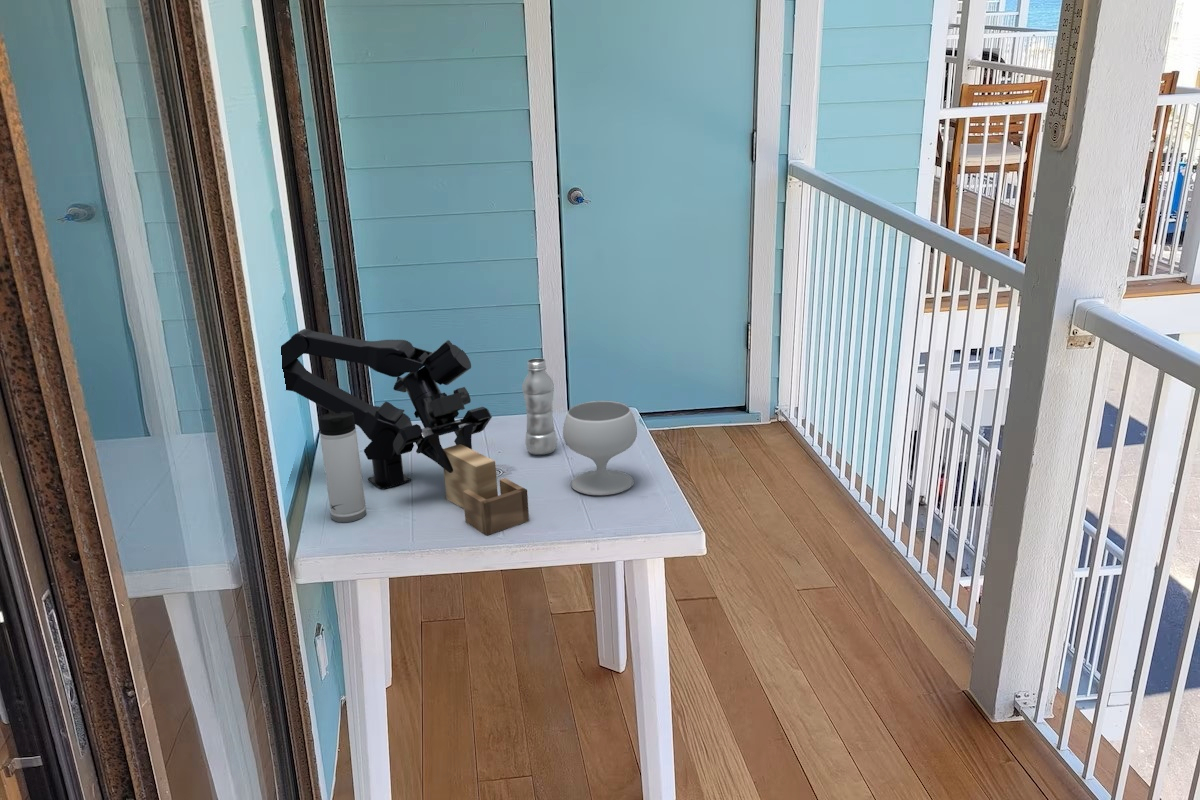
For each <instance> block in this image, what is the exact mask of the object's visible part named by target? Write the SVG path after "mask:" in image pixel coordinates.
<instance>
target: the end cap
mask: <svg viewBox="0 0 1200 800" xmlns="http://www.w3.org/2000/svg"><path fill="white" fill-rule="evenodd" d="M499 491H500V494H498V496H496V497H493V498H490V499H487V500H486V499H484V498H483V497H481V496H479V495H477V494H476V493H474V492H472V491H471V490H465V491H463V499H464V509H463V510H464V517H465V518H464V520H465V524H467V525H469V526H471V527H472V528H474V529H475V530H477V531H478V532H480V533H482V534H483V533H484V534H483V535H485V536H486V535H487V536H489V535H492V534H495V533H498V531H499V532H501V531H504V530H506V528H507V529H509V528H512V527H516V526H518V525H521V524H524V523H527V522H530V514H529V512H530V511H529V500H528V499H529V497H528V489H527V488H525V487H523V486H521V485H519V484H517V483H516V482H514V481H512V480H509V479H508V478H506V477H504V478H501V479H499Z"/></svg>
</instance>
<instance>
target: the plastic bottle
mask: <svg viewBox="0 0 1200 800" xmlns="http://www.w3.org/2000/svg"><path fill="white" fill-rule="evenodd" d="M526 362H527V363H526V364H527V367H526V369H527V372H528V373H527V375H526V376H525V378H524V380H523V382H522V389H521V390H522V393H523V397H524V403H525V411H526V432H525V439H524V440H525V441H524V442H525V446H526V450H527V451H528V452H529V453H530V454H532V455H536V456H537V455H538V456H540V455H547V454H551V453H553V452H554V451H555V450H556V448H557V445H558V443H557V441H558V438H557V433H556V430H555V423H554V422H555V421H554V416H553V414H554V413H553V409H554V408H553V404H554V403H553V401H554V390H555V388H554V387H555V383H554V379H552V377H551V376H550V375H549V374H548V373H547V372H546V370H547V363H546V359H545V358H541V357H540V358H538V357H536V358H535V357H534V358H530V359H528V360H527V361H526Z"/></svg>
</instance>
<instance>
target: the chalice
mask: <svg viewBox="0 0 1200 800" xmlns="http://www.w3.org/2000/svg"><path fill="white" fill-rule="evenodd" d="M637 436H638V426H637V421H636V418H635V416H634V413H633V412H632V410H631V408H630V407H629V406H628V405H627V404H624V403H622V402H618V401H610V400H595V401H587V402H583V403H582V402H581V403H579V404H576V405H574V406H572V407H571V408H569V409H568V411H567V413H566V415H565V418H564V422H563V427H562V438H563V441H564V444H565V445H566V446H567V447H568V448H569V449H570V450H571V451H573V452H574V453H576V454H578V455H580V456H584V457H586V458H589V459H590V460H592V461H593V462H594V463H595V465H596V469H594V470H590V471H589V470H588V471H586V472H583V473H580V474H578V475H577V476H575V477H574V478H572V480H571V482H570V487H571V489H572V490H574V491H576V492H578V493H580V494H585V495H590V496H610V495H616V494H620V493H622V492H626V491H627V490H629V489H630V488H631V487H633V485H634V483H635V481H634V478H633V476H631V475H630V474H628V473H625V472H623V471H620V470H613V469H607V466H608V463H609V461H610V460H611V459H612V458H615V457H616V456H618V455H620V454H621V453H625V451H628V449H630V448H631V447H632V446H633V445H634V443H635V442H636V438H637Z"/></svg>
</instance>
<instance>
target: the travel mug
mask: <svg viewBox="0 0 1200 800" xmlns="http://www.w3.org/2000/svg"><path fill="white" fill-rule="evenodd" d="M317 420H318V427H319V436H320V437H319V438H320V446H321V452H322V461H323V467H324V472H325V473H324V474H325V482H326V489H327V496H328V502H329V503H328V505H329V511H330V517H331V519H332V520H333V521H334V522H338V523H351V522H356V521H359V520H360V519H362V518H364V517H365V516H366V514H367V507H366V497H365V489H364V483H363V474H362V468H361V459H360V458H361V457H360V452H359V451H360V450H359V443H358V435H357V427H356V424H354V423H355V420H354V413H353V412H341V413H329V412H327V413H325V414H322V415H321V414H320V415H318V417H317Z"/></svg>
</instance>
